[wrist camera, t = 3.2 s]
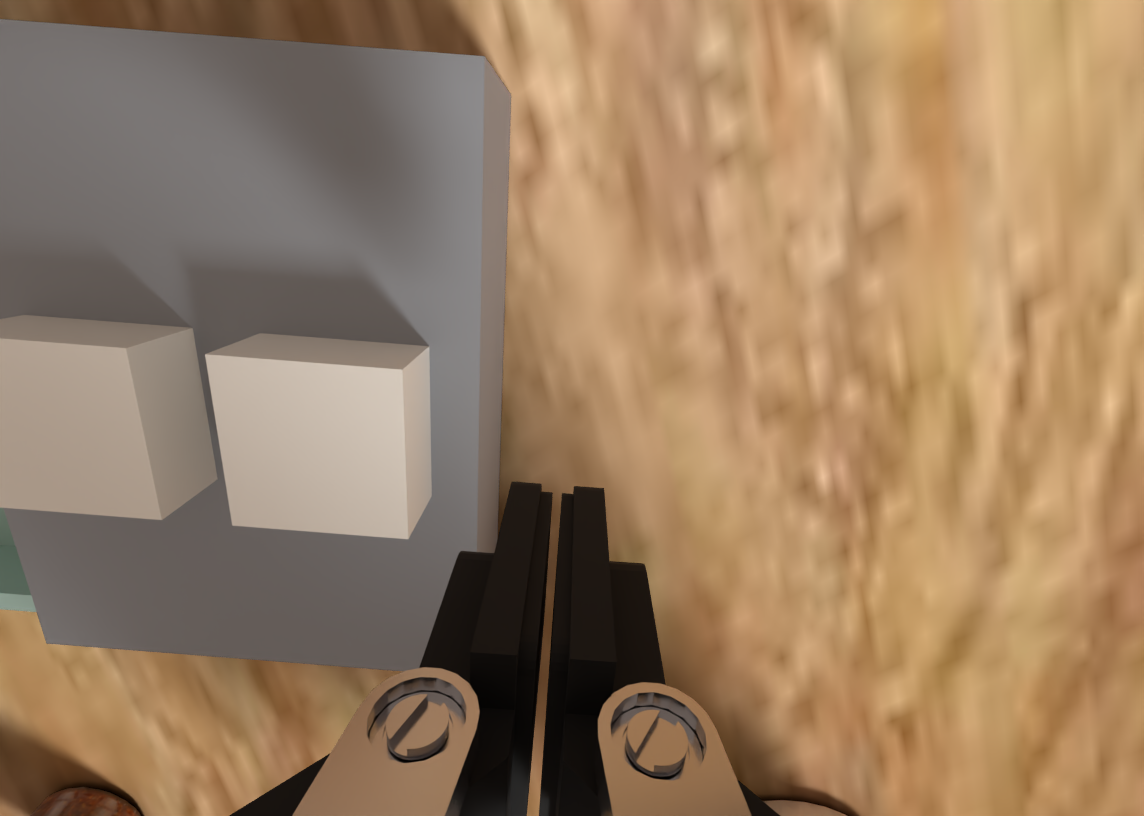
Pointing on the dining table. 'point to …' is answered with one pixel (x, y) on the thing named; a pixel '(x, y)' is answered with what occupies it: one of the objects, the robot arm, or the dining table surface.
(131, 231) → the slate block
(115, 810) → the sauce bottle
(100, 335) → the tile
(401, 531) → the tile
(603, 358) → the dining table surface
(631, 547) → the dining table surface
